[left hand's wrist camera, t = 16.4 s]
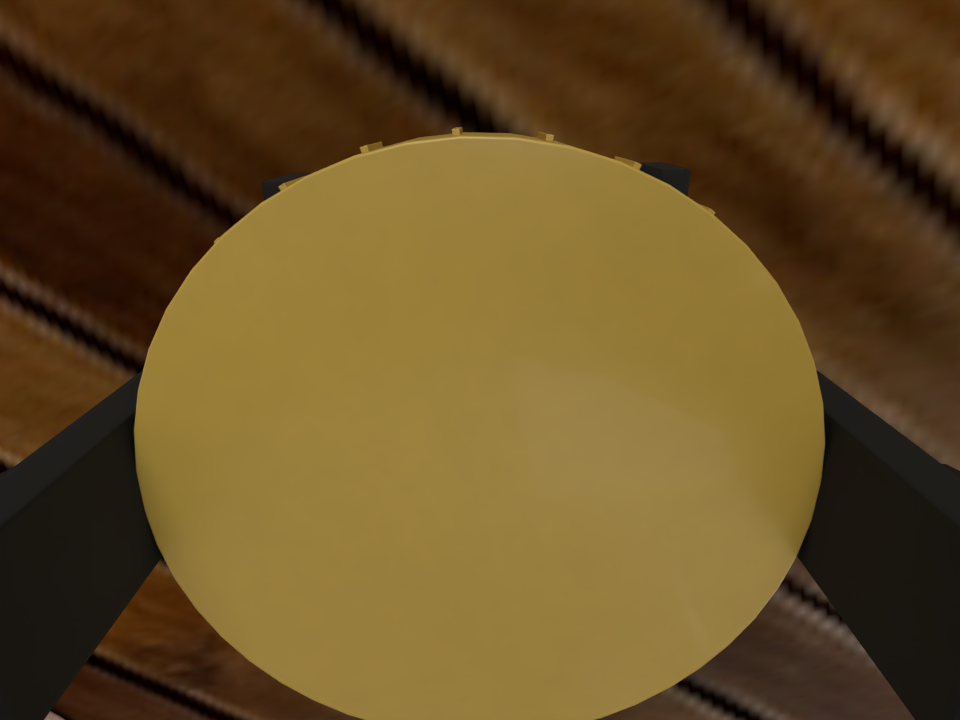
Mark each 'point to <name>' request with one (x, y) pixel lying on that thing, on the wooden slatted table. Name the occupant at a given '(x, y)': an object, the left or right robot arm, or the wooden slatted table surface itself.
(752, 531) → the lid
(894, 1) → the wooden slatted table surface
